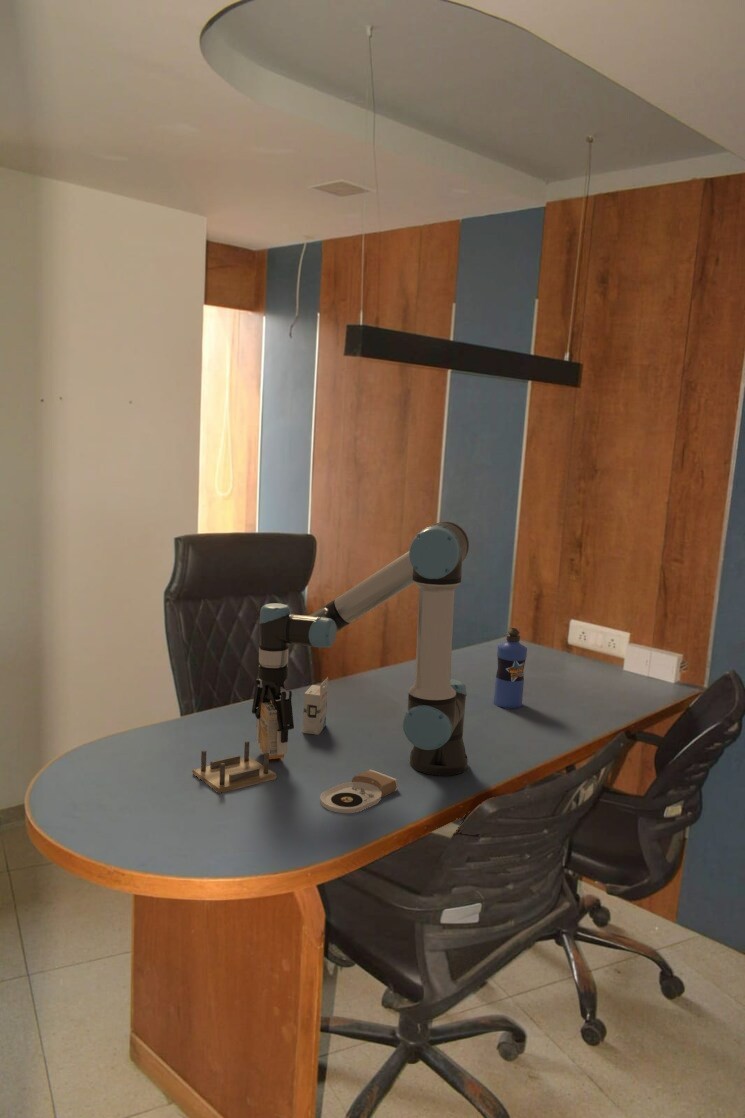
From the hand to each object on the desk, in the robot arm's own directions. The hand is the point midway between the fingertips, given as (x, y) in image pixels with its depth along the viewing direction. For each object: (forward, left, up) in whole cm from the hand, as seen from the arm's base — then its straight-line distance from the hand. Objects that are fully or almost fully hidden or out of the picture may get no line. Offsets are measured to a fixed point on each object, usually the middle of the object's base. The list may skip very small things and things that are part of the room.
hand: (271, 747), depth 231 cm
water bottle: (-2, -89, -3) cm, 89 cm away
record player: (-31, -4, -3) cm, 31 cm away
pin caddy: (-6, +14, -3) cm, 16 cm away
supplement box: (0, 0, -2) cm, 2 cm away
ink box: (+11, -22, -3) cm, 25 cm away
